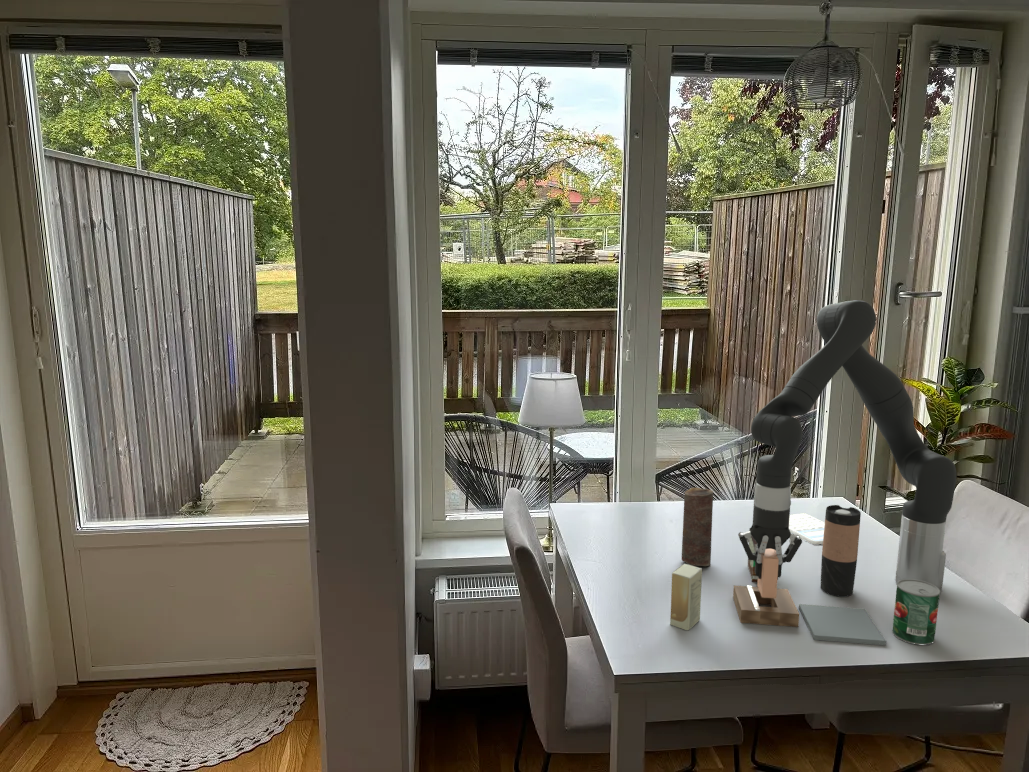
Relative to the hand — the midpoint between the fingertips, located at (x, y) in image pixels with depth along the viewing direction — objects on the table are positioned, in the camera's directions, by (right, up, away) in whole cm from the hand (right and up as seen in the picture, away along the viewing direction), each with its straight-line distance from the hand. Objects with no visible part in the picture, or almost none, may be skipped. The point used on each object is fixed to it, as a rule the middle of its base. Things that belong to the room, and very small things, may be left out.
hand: (767, 577), depth 161 cm
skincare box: (-19, -9, -4) cm, 22 cm away
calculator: (+30, 0, +51) cm, 59 cm away
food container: (+6, -5, +20) cm, 22 cm away
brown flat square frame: (0, -8, +1) cm, 8 cm away
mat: (+14, -9, -5) cm, 17 cm away
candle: (-9, -4, +27) cm, 29 cm away
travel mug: (+21, -6, +12) cm, 25 cm away
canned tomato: (+28, -10, -9) cm, 31 cm away
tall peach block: (0, -3, 0) cm, 3 cm away
